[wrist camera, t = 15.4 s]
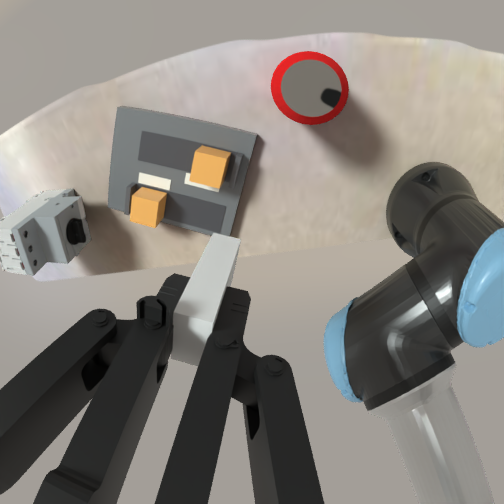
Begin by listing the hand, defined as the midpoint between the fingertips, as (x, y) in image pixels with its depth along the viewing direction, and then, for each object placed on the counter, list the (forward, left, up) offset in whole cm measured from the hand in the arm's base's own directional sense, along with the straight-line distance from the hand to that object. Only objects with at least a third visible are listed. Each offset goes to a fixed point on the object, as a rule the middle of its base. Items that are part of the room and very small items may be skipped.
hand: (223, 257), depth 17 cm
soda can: (-3, -10, -28) cm, 30 cm away
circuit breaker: (+29, +17, -28) cm, 44 cm away
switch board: (+11, +6, -28) cm, 30 cm away
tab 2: (+5, +3, -26) cm, 27 cm away
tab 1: (+13, +11, -26) cm, 31 cm away
